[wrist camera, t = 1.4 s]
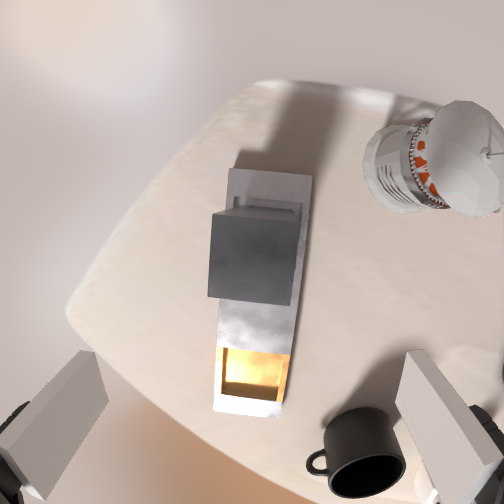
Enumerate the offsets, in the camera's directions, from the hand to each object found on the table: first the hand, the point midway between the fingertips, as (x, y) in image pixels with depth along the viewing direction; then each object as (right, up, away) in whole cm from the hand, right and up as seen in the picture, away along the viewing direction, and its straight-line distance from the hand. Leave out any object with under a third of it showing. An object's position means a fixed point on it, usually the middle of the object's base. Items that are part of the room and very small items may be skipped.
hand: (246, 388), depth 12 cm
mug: (+13, -19, +25) cm, 34 cm away
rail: (+1, 0, +22) cm, 22 cm away
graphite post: (+2, +7, +20) cm, 22 cm away
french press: (+17, +14, +18) cm, 29 cm away
